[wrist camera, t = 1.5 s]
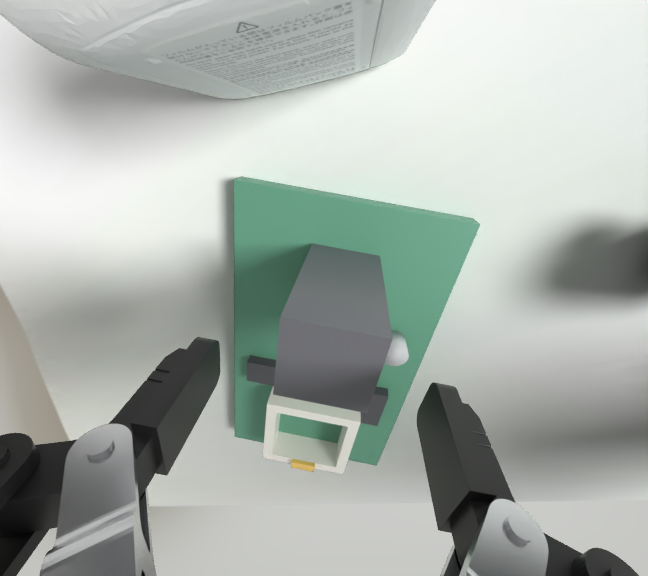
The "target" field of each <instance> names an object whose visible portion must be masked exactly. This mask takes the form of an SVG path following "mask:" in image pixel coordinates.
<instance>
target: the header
mask: <svg viewBox="0 0 648 576" xmlns="http://www.w3.org/2000/svg"><path fill="white" fill-rule="evenodd" d="M273 389H274V386H273V388H272V391H271V394H270V397H269V400H268V402H267V411H266V423H265V436H264V448H263V458H266V459H271V460H276V461H281V462H286V463H290V464H291V467H292V468H297V469H302V470H307V471H312V472H314V468H315V469H320V470H325V471H329V472H334V473H339V474H343V473H344V470H345V467H346V464H347V461H348V458H349V455H350V452H351V449H352V447H353V444H354V441H355V438H356V435H357V432H358V429H359V426H360V423H361V412H358V411H353V410H348V409H343V408H338V407H333V406H328V405H323V404H318V403H313V402H308V401H303V400H298V399H293V398H288V397H283V396H278V395H273ZM280 414H286V415H291V416H296V417H301V418H306V419H311V420H316V421H321V422H326V423H331V424H336V425H341V426H342V430H341V433H340V436H339V440H338V443H334V442H329V441H324V440H319V439H314V438H309V437H304V436H299V435H294V434H289V433H285V432H280V431H279V423H280Z"/></svg>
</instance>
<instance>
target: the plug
mask: <svg viewBox="0 0 648 576" xmlns="http://www.w3.org/2000/svg"><path fill="white" fill-rule="evenodd" d="M392 340H393V338H392V331H391V324H390V318H389V311H388V305H387V298H386V292H385V285H384V278H383V272H382V265H381V259H380V256H378V255H373V254H367V253H362V252H357V251H351V250H346V249H340V248H335V247H330V246H324V245H319V244H313V243H312V245H311V247H310V250H309V252H308V254H307V257H306V259H305V261H304V264H303V266H302V268H301V270H300V273H299V275H298V277H297V280H296V282H295V284H294V287H293V289H292V291H291V294H290V296H289V298H288V301H287V303H286V305H285V308H284V310H283V312H282V314H281V317H280V325H279V336H278V347H277V357H276V368H275V378H274V389H273V395H278V396H283V397H288V398H293V399H298V400H303V401H308V402H313V403H318V404H323V405H328V406H333V407H338V408H343V409H348V410H353V411H358V412H363V413H367V412H368V409H369V406H370V403H371V400H372V397H373V395H374V392H375V389H376V386H377V383H378V380H379V377H380V374H381V371H382V369H383V366H384V363H385V360H386V357H387V354H388V351H389V348H390V345H391V343H392Z"/></svg>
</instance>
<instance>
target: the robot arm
mask: <svg viewBox="0 0 648 576" xmlns="http://www.w3.org/2000/svg"><path fill="white" fill-rule="evenodd" d="M219 375H220V347H219V341H216V340H211V339H206V338H201V337H197V338H196V339H195V340H194V341H193V342H192V343H191V345H190V346H189V347H188V349H187V350H186V349H180V348H179V349H177V350H176V351H174V352H173V353H171V354H169V355H168V356H166V357H165V358H164V359H163V360H162V362H161V363H160V364H159V365H158V366H157V368H156V370H155V371H153V372H152V374H151V375H150V376H149V377H148V378H147V381H145V382H144V383H143V384H142V385H141V387H140V388H139V389H138V390H137V391H136V393H135V394H134V395H133V396H132V397H131V399H130V400H129V401H128V402H127V403H126V404H125V406H124V407H123V408H122V409H121V410H120V412H119V413H118V414H117V415H116V416H115V418H114V419H113V420H112V421H111V422H110V423H109V424H106V425H102V426H99V427H97V428H94V429H92V430H90V431H89V432H87V433H85V434H84V435H83V436H81V437H80V438H79V439H78V440H73V441H65V442H57V443H49V444H40V445H34V443H33V441H32V439H31V438H30V437H29V436H27V435H25V434H21V433H10V434H5V435H1V436H0V576H16V575H17V574H18V572H19V571H20V570H21V568H22V567H23V565H24V564H25V563H26V561H27V560H28V558H29V557H30V556H31V554H32V553H33V551H34V550H35V549H36V547H37V546H38V544H39V543H40V542H41V540H42V539H43V537H44V536H45V535H46V533H47V532H48V530H49V529H51V528H56V527H57V534H56V541H55V544H54V547H53V549H52V550H50V551H48V553H47V554H46V555H45V557H44V560H43V563H42V566H41V571H40V576H156V571H155V565H154V559H153V550H152V538H151V527H150V515H149V504H148V492H147V486H148V485H149V483H150V481H151V479H152V478H153V476H154V474H155V473H157V474H162V475H168V473H169V471H170V469H171V467H172V465H173V464H174V462H175V460H176V458H177V456H178V454H179V453H180V451H181V449H182V447H183V445H184V443H185V442H186V440H187V438H188V436H189V434H190V433H191V431H192V429H193V427H194V425H195V423H196V422H197V420H198V418H199V416H200V414H201V412H202V411H203V409H204V407H205V405H206V403H207V402H208V400H209V398H210V396H211V394H212V392H213V391H214V389H215V387H216V385H217V382H218V379H219ZM417 427H418V432H419V437H420V442H421V447H422V452H423V457H424V462H425V467H426V472H427V477H428V482H429V487H430V492H431V497H432V502H433V506H434V511H435V516H436V521H437V526H438V530H440V531H445V532H450V533H452V536H453V541H454V545H453V546H452V548H451V550H450V552H449V555H448V557H447V560H446V562H445V564H444V567H443V569H442V572H441V574H440V576H638V574H637V573H636V572H635V571H634V570H633V569H632V568H631V567H630V566H629V565H627V564H626V563H625V562H624V561H623V560H621V559H620V558H619V557H617V556H616V555H614V554H612V553H611V552H609V551H607V550H604V549H600V548H592V549H590V550H588V551H587V552H585V553H584V554H582V553H580V552H578V551H576V550H574V549H572V548H570V547H569V546H567V545H565V544H563V543H561V542H559V541H557V540H555V539H553V538H552V537H550V536H548V535H547V534H545V533H543V531H542V529H541V528H540V526H539V525H538V524H537V522H536V521H535V520H534V518H533V517H532V516H531V515H530V514H529V513H528V512H527V511H526V510H525V509H524V508H522V507H521V506H519V505H518V504H516V502H515V501H514V498H513V496H512V494H511V492H510V489H509V487H508V485H507V482H506V480H505V477H504V475H503V473H502V470H501V468H500V466H499V463H498V461H497V458H496V456H495V454H494V451H493V449H491V444H490V442H489V440H488V437H487V436H486V435H485V434H486V432H485V430H484V428H483V425H482V423H481V421H480V418H479V417H478V416H477V414H476V413H475V412H474V411H473V410H472V408H471V407H470V406H469V405H468V404H464V403H462V402H461V399H460V396H459V394H458V391H457V389H456V388H455V387H454V386H449V385H443V384H438V383H432V384H431V385H430V387H429V389H428V391H427V393H426V395H425V397H424V399H423V401H422V403H421V405H420V407H419V410H418V414H417Z"/></svg>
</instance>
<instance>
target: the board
mask: <svg viewBox="0 0 648 576" xmlns="http://www.w3.org/2000/svg"><path fill="white" fill-rule="evenodd" d="M479 226H480V224H479V223H478V222H477V221H475V220H474V219H473V218H467V217H462V216H456V215H451V214H445V213H440V212H434V211H429V210H423V209H418V208H412V207H407V206H401V205H396V204H390V203H384V202H379V201H373V200H368V199H362V198H357V197H351V196H346V195H340V194H335V193H329V192H324V191H318V190H313V189H307V188H302V187H296V186H291V185H285V184H279V183H274V182H268V181H263V180H257V179H252V178H246V177H239V178H237V179H234V372H235V437H239V438H244V439H249V440H254V441H259V442H263V443H264V436H265V423H266V411H267V402H268V400H269V397H270V394H271V391H272V388H273V386H274V378H275V368H276V357H277V347H278V336H279V325H280V317H281V314H282V312H283V310H284V308H285V305H286V303H287V301H288V298H289V296H290V294H291V291H292V289H293V287H294V284H295V282H296V280H297V277H298V275H299V273H300V270H301V268H302V266H303V264H304V261H305V259H306V257H307V254H308V252H309V250H310V247H311V245H312V243H313V244H319V245H324V246H330V247H335V248H340V249H346V250H351V251H357V252H362V253H367V254H373V255H378V256H380V259H381V265H382V272H383V278H384V285H385V292H386V298H387V305H388V311H389V318H390V324H391V331H392V338H393V340H392V343H391V345H390V348H389V351H388V354H387V357H386V360H385V363H384V366H383V369H382V371H381V374H380V377H379V380H378V383H377V386H376V389H375V392H374V395H373V397H372V400H371V403H370V406H369V409H368V412H367V413H363V412H361V423H360V426H359V429H358V432H357V435H356V438H355V441H354V444H353V447H352V449H351V452H350V455H349V458H348V460H352V461H357V462H362V463H367V464H371V465H377V463H378V461H379V458H380V456H381V454H382V451H383V449H384V447H385V445H386V442H387V440H388V438H389V435H390V433H391V431H392V428H393V426H394V424H395V421H396V419H397V417H398V414H399V412H400V410H401V407H402V405H403V403H404V400H405V398H406V396H407V393H408V391H409V389H410V386H411V384H412V382H413V379H414V377H415V375H416V372H417V370H418V368H419V365H420V363H421V361H422V358H423V356H424V354H425V352H426V349H427V347H428V345H429V342H430V340H431V338H432V335H433V333H434V331H435V328H436V326H437V324H438V321H439V319H440V317H441V314H442V312H443V310H444V307H445V305H446V303H447V300H448V298H449V296H450V293H451V291H452V289H453V286H454V284H455V282H456V279H457V277H458V275H459V272H460V270H461V268H462V265H463V263H464V261H465V258H466V256H467V254H468V252H469V249H470V247H471V245H472V242H473V240H474V238H475V235H476V233H477V231H478V228H479ZM341 430H342V426H341V425H336V424H331V423H326V422H321V421H316V420H311V419H306V418H301V417H296V416H291V415H286V414H280V423H279V431H280V432H285V433H289V434H294V435H299V436H304V437H309V438H314V439H319V440H324V441H329V442H334V443H338V440H339V436H340V433H341Z"/></svg>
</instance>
